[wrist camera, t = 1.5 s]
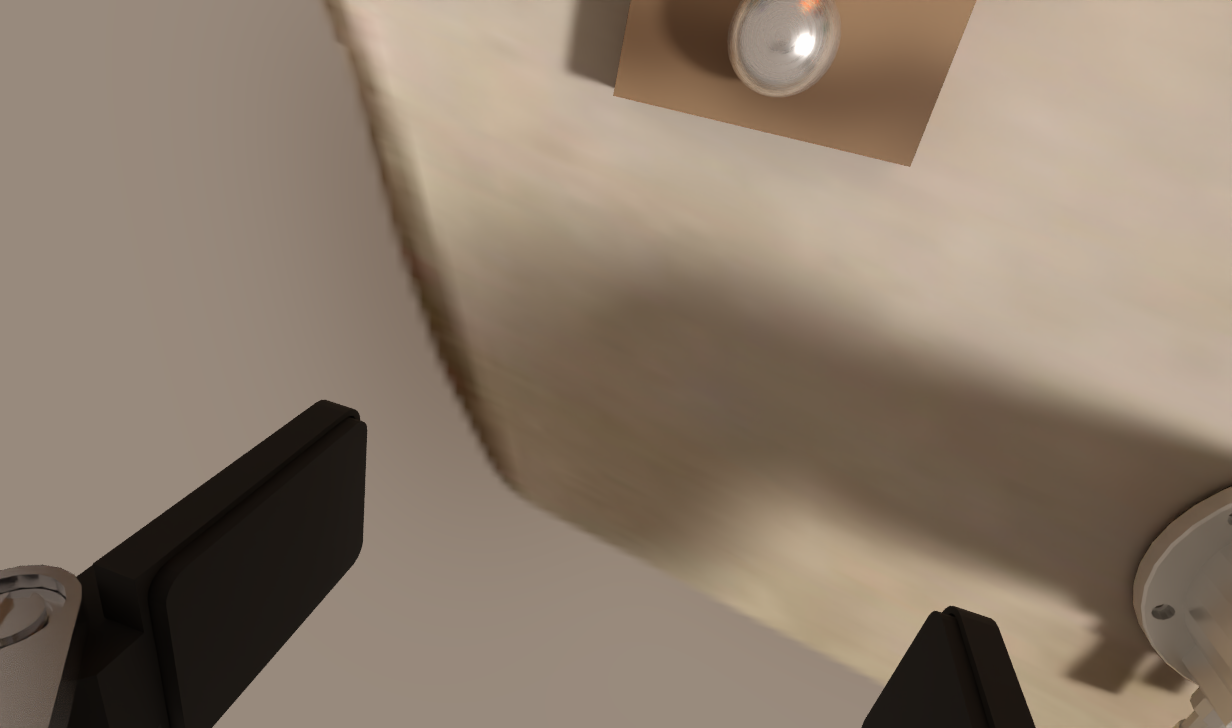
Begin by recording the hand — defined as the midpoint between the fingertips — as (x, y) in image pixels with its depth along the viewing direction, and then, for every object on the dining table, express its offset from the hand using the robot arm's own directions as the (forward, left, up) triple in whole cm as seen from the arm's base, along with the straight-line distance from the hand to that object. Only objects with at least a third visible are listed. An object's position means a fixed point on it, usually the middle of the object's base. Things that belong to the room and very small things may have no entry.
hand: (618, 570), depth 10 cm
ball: (+8, 0, -16) cm, 18 cm away
